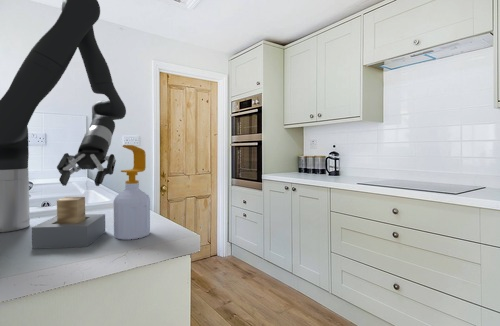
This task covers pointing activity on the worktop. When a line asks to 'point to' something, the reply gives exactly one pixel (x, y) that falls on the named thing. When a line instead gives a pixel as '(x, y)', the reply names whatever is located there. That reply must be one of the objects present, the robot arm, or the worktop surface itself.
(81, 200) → the oak post
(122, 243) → the worktop surface
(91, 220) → the well
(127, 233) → the soap bottle
